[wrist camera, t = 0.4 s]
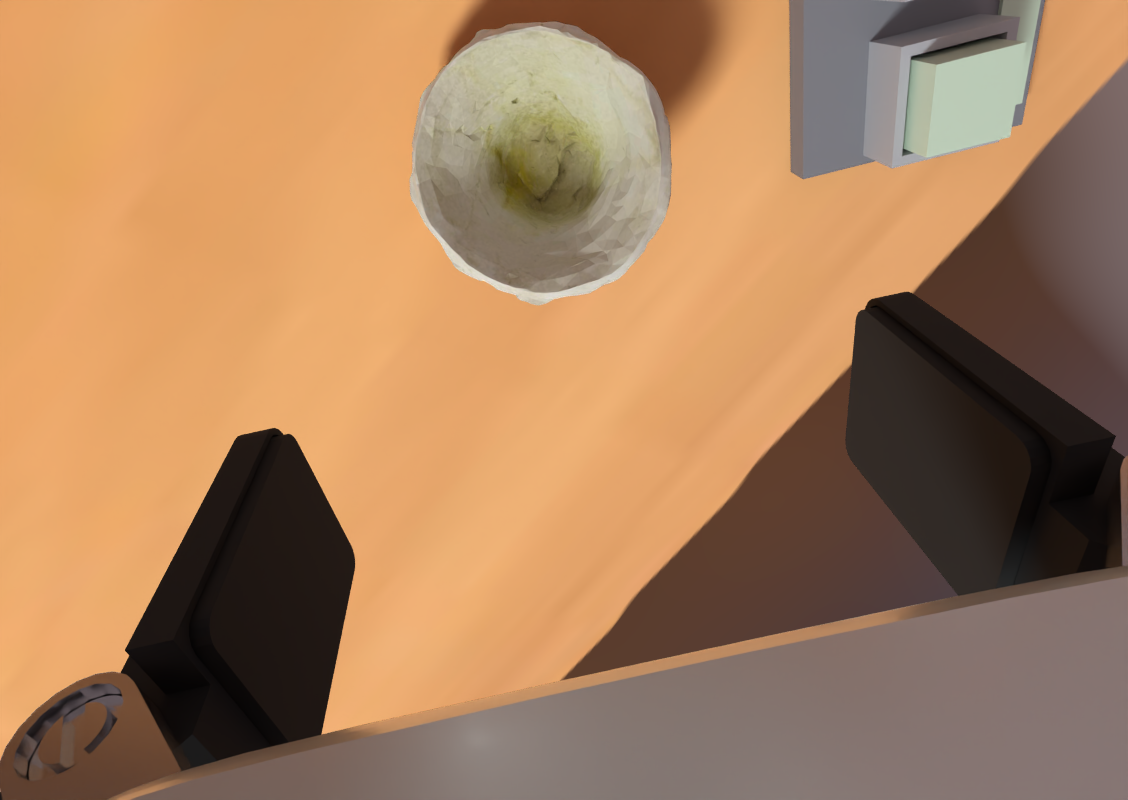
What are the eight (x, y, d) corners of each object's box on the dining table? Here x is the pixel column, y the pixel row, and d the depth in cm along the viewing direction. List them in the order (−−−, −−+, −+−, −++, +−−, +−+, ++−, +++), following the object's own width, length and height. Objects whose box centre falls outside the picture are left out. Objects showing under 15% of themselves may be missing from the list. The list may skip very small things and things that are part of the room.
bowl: (514, -47, 36) (527, -53, 28) (681, 123, 42) (733, 159, 34) (370, 167, 41) (345, 216, 33) (537, 290, 48) (552, 357, 39)
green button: (905, 58, 37) (936, 64, 35) (989, 37, 37) (1026, 42, 35) (898, 146, 40) (926, 157, 38) (976, 126, 40) (1009, 136, 38)
